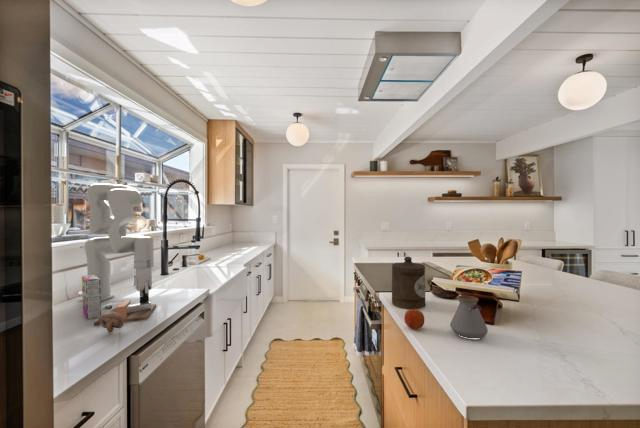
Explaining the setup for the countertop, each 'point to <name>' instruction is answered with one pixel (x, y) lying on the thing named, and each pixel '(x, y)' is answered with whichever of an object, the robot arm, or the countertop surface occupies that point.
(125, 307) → the keeper
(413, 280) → the wooden container
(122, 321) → the mushroom
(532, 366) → the countertop surface
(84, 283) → the candy bar box
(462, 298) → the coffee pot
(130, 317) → the board
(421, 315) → the fruit
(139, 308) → the link
